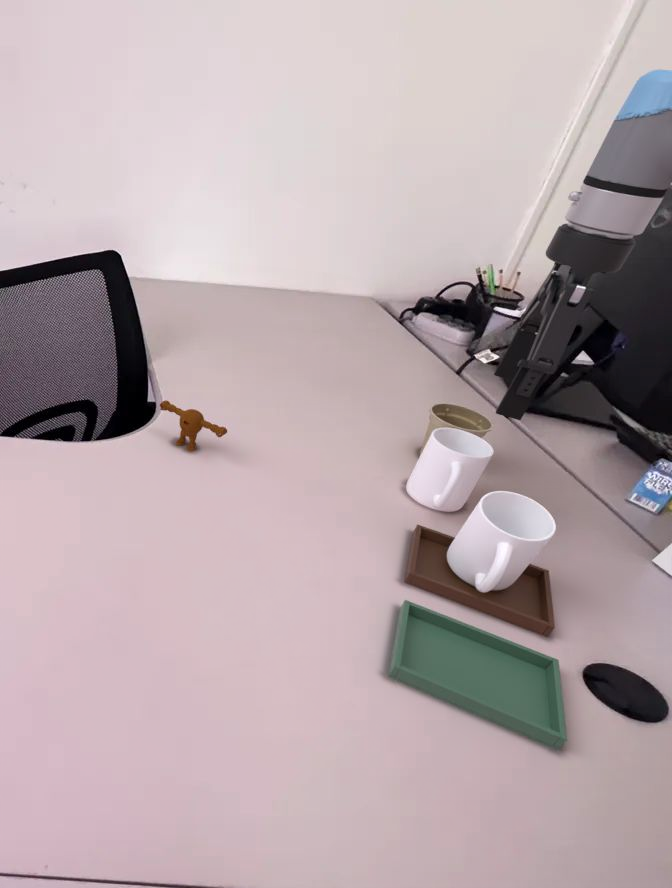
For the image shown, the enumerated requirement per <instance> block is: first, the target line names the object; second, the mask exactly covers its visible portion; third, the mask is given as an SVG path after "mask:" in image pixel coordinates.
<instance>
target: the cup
mask: <svg viewBox="0 0 672 888" xmlns="http://www.w3.org/2000/svg"><path fill="white" fill-rule="evenodd" d="M494 453H495V451H494V448H493V446H492V445H491V444H490V443H489V442H487V441H486V440H485V439H483V437H482V438H480V437H478V436H476V435H474V434H471V433H469V432H466V431H462V430H459V429H454V428H438V429H435V430H434V431H433V432H432V434H431V436H430V438H429V440H428V442H427V444H426V446H425V448H424V450H423V452H422V454H421V456H420V455H419V458H418V460H417V461H416V464H415V465H414V468H413V469H412V472H411V474H410V475H409V478H408V479H407V482H406V485H405V488H406V489H405V490H406V492H407V494H408V495H409V496H410V498H412V499H413V500H414V501H416V502H417V503H418V504H420V505H423V506H424V507H426V508H429V509H432V510H435V511H439V512H446V513H452V512H457V511H459V510H461V509H462V508H463V507H464V505H465V504H466V502H467V500H468V499H469V497H470V495H472V492H473V490H474V488H475V487H476V485H477V483H478V482H479V479H480V478H481V476H482V474H483V473H484V471H485V469H486V468H487V466H488V465H489V463H490V460H491V459H492V458H493V455H494Z"/></svg>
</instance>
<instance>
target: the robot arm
mask: <svg viewBox="0 0 672 888" xmlns="http://www.w3.org/2000/svg"><path fill="white" fill-rule="evenodd" d="M671 185H672V70H670V69H661V68H660V69H653V70H651V71H647V72H646V73H645V74H643V75H641V76H640V77H639V78H638V79H637V80H636V82H635V84H634V86H633V87H632V89H631V91H630V92H629V94H628V96H627V98H626V99H625V100H624V103H623V104H622V106H621V107H620V109H619V111H618V113H617V115H616V116H615V118H614V120H613V121H612V123H611V126H610V128H609V130H608V132H607V133H606V135H605V137H604V139H603V141H602V143H601V145H600V147H599V149H598V151H597V153H596V155H595V157H594V158H593V161H592V162H591V165H590V167H589V169H588V171H587V173H586V175H585V177H584V179H583V181H582V183H581V185H580V187H579V188H580V190H579V191H571V192H570V193H569V195H568V197H567V198H568V201H572V203H570V205H569V208H568V209H567V211H566V213H565V215H564V218H565V220H566V222H567V223H562V224H561V225H559V226H558V227H557V229H556V230H555V233H554V235H553V236H552V239H551V240H550V242H549V244H548V246H547V248H546V250H545V256H546V258H547V259H549V260H550V261H552V262H554V263H553V266H552V268H551V270H549V271H550V272H549V273H548V275H547V276H546V277H545V279H544V281H543V282H542V284H541V285H540V287H539V288H538V290H537V292H536V293H535V294H534V296H533V298H532V299H531V301H530V302H529V304H528V306H527V307H526V308H525V310H524V312H523V313H521V314H520V322H519V324H518V329H517V330H516V332H515V333H514V336H513V338H512V339H511V341H510V343H509V344H508V347H507V348H506V351H504V354H503V356H502V358H501V360H500V361H499V363H498V365H497V367H496V369H495V371H494V373H493V375H494V376H496V377H499V378H503V379H506V380H509V381H511V383H510V385H509V386H508V389H507V390H506V392H505V394H504V396H503V397H502V399H501V401H500V403H499V404H498V406H497V408H496V410H495V414H496V415H499V416H504V417H507V418H510V419H514V420H517V421H521V420H522V418H523V416H524V415H525V413H526V412H527V410H528V408H529V406H530V404H531V403H532V401H533V400H534V398H535V397H536V395H537V393H538V391H539V389H540V388H541V386H542V384H543V383H544V381H545V379H546V378H547V376H548V374H551V375H553V374H555V373H556V372H557V370H558V366H559V364H560V362H561V360H562V357H563V355H564V353H565V351H566V349H567V346H568V344H569V342H570V340H571V338H572V336H573V334H574V332H575V329H576V327H577V325H578V322H579V320H580V318H581V316H582V314H583V312H584V310H585V308H586V306H587V305H588V302H589V300H590V299H591V297H592V296H593V295H594V294H595V287H594V286H589V283H590V281H591V280H592V276H593V275H594V274H598V273H601V274H614V273H617V272H619V271H620V270H621V269H622V267H623V265H624V264H625V262H626V261H627V259H628V258H629V256H630V254H631V252H632V250H633V249H634V247H635V245H636V239H635V238H634V237H635V236H639V235H641V234H643V233H644V232H645V230H646V228H647V227H648V225H649V223H650V221H651V220H652V218H653V217H654V215H655V213H656V212H657V210H658V208H659V207H660V205H661V203H662V201H663V199H664V198H665V195H666V193H667V191H668V189H669V188H670V187H671ZM544 359H545V360H544Z"/></svg>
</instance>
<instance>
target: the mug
mask: <svg viewBox="0 0 672 888" xmlns="http://www.w3.org/2000/svg"><path fill="white" fill-rule="evenodd" d="M556 529H557V525H556V521H555V519H554V517H553V515H552V514H551V512H550V511H548V509H546V508H545V506H543V505H542V504H541V503H539V502H537V501H536V500H534V499H532V498H530V497H528V496H526V495H523V494H521V493H517V492H513V491H508V490H495V491H491V492H488V493H486V494H484V495H483V496H482V497H481V498H480V500H479V501H478V503H477V504H476V505H475V507H474V508H473V510H472V511H471V513H470V514H469V516H468V518H467V519H466V521H465V522H464V523H463V524H462V526H461V528H460V529H459V531H458V533H457V534H456V535H455V536H454V537H455V539H454V540H453V542H452V543H451V545H450V547H449V549H448V551H447V561H448V564H449V566H450V568H451V569H452V570H453V572H454V573H455V574H456V575H457V576H458V577H459V578H461V579H462V580H463V581H465V582H466V583H468V584H470V585H472V586H474V587H476V589H477V590H478V591H480V592H484V593H485V592H488V591H490V590H502V589H505V588H507V587H509V586H510V585H512V584H513V583H514V582H515V581H516V580H517V579H518V577H519V576H520V575H521V574H522V573H523V571H524V570H525V569H526V568H527V566H528V565H529V564H532V562H533V561H534V559H535V558H536V557H537V556H538V555H539V553H540V552H541V551H542V549H544V547H545V546H546V544H548V542H549V541H550V540H551V539H552V537H554V535H555V533H556Z"/></svg>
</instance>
